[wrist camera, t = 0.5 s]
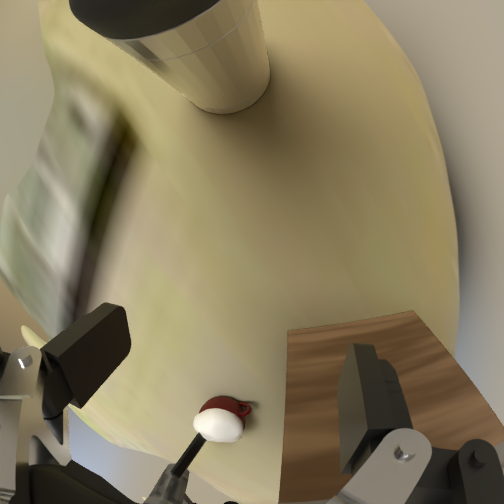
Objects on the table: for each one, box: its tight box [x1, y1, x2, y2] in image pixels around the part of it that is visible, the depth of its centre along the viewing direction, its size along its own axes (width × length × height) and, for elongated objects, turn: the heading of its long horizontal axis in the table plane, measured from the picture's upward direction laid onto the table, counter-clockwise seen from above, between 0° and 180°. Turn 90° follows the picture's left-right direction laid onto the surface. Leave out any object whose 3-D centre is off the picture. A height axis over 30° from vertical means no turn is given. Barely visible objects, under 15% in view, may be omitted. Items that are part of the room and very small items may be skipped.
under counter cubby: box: [278, 310, 504, 504], centre depth 21 cm, size 23×15×23 cm, turn 9°
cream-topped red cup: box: [170, 396, 252, 479], centre depth 29 cm, size 10×6×12 cm, turn 100°
